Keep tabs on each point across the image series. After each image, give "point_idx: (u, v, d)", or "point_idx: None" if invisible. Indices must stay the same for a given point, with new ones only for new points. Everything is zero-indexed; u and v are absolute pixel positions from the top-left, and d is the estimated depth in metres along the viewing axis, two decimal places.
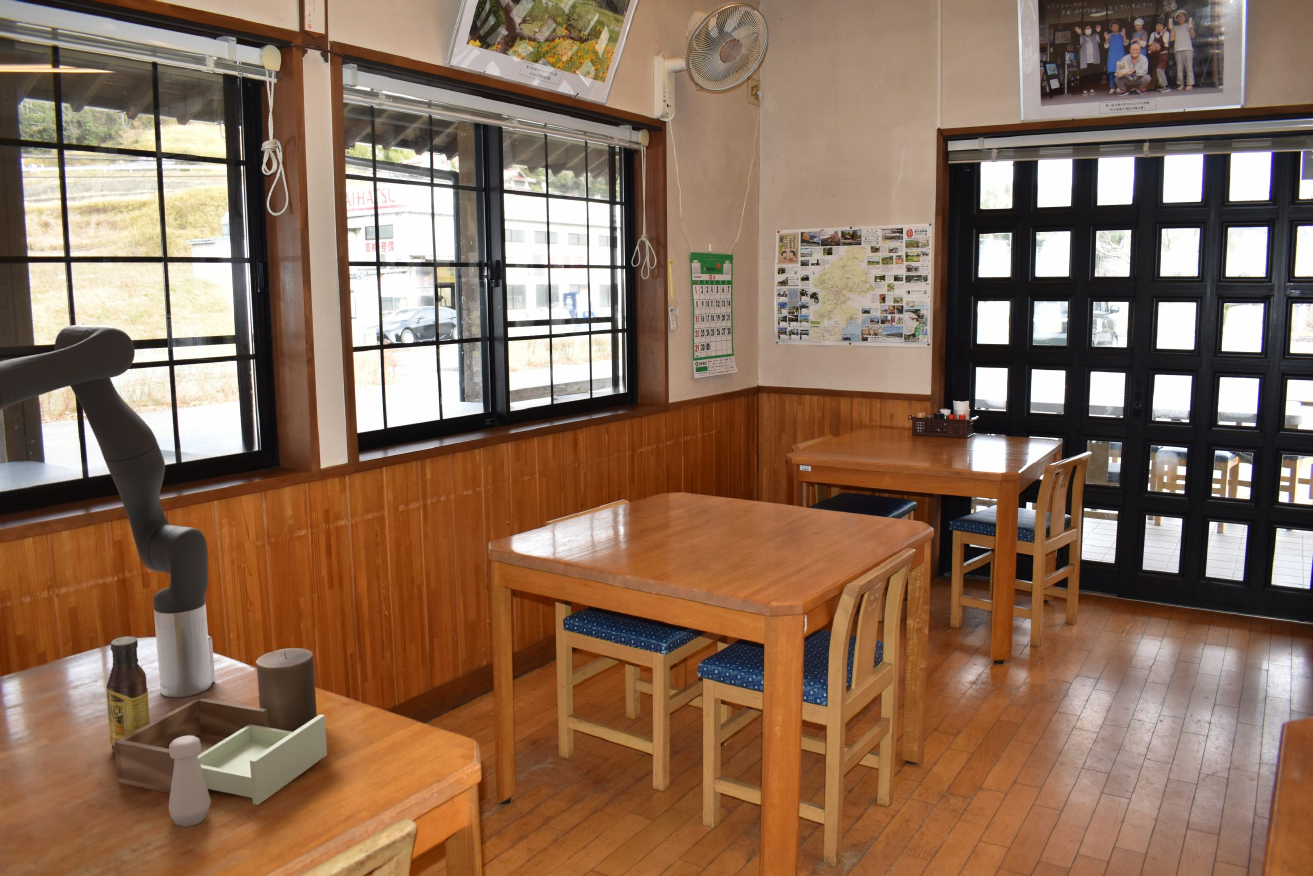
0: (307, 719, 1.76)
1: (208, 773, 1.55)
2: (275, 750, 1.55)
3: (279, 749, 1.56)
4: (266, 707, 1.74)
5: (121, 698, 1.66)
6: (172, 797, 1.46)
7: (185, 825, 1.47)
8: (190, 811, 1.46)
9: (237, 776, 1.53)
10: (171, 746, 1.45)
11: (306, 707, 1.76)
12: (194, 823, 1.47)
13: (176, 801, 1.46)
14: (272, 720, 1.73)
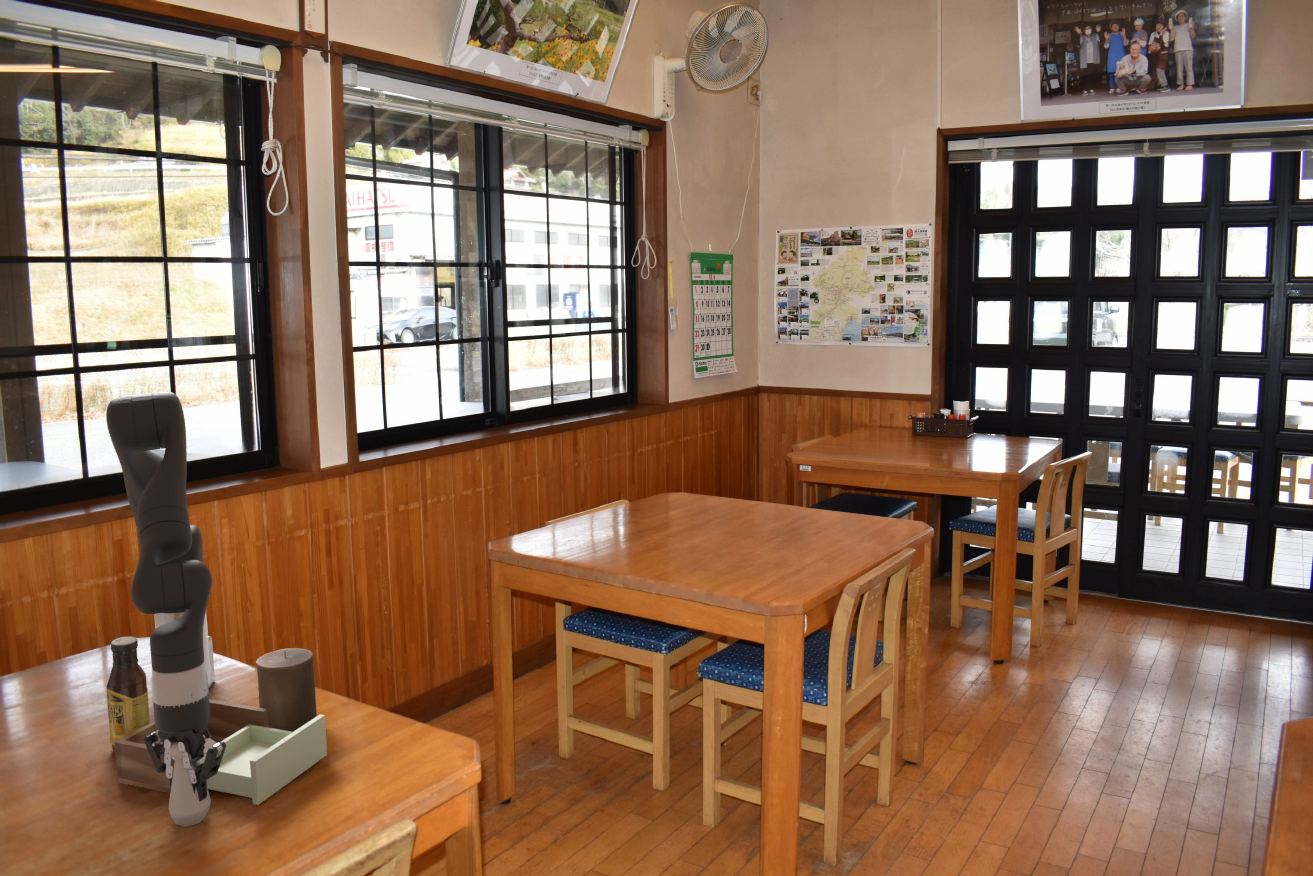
0: (307, 719, 1.76)
1: None
2: (275, 750, 1.55)
3: (279, 749, 1.56)
4: (266, 707, 1.74)
5: (121, 698, 1.66)
6: (172, 797, 1.46)
7: (185, 825, 1.47)
8: (190, 811, 1.46)
9: (237, 776, 1.53)
10: (171, 746, 1.45)
11: (306, 707, 1.76)
12: (194, 823, 1.47)
13: (176, 801, 1.46)
14: (272, 720, 1.73)
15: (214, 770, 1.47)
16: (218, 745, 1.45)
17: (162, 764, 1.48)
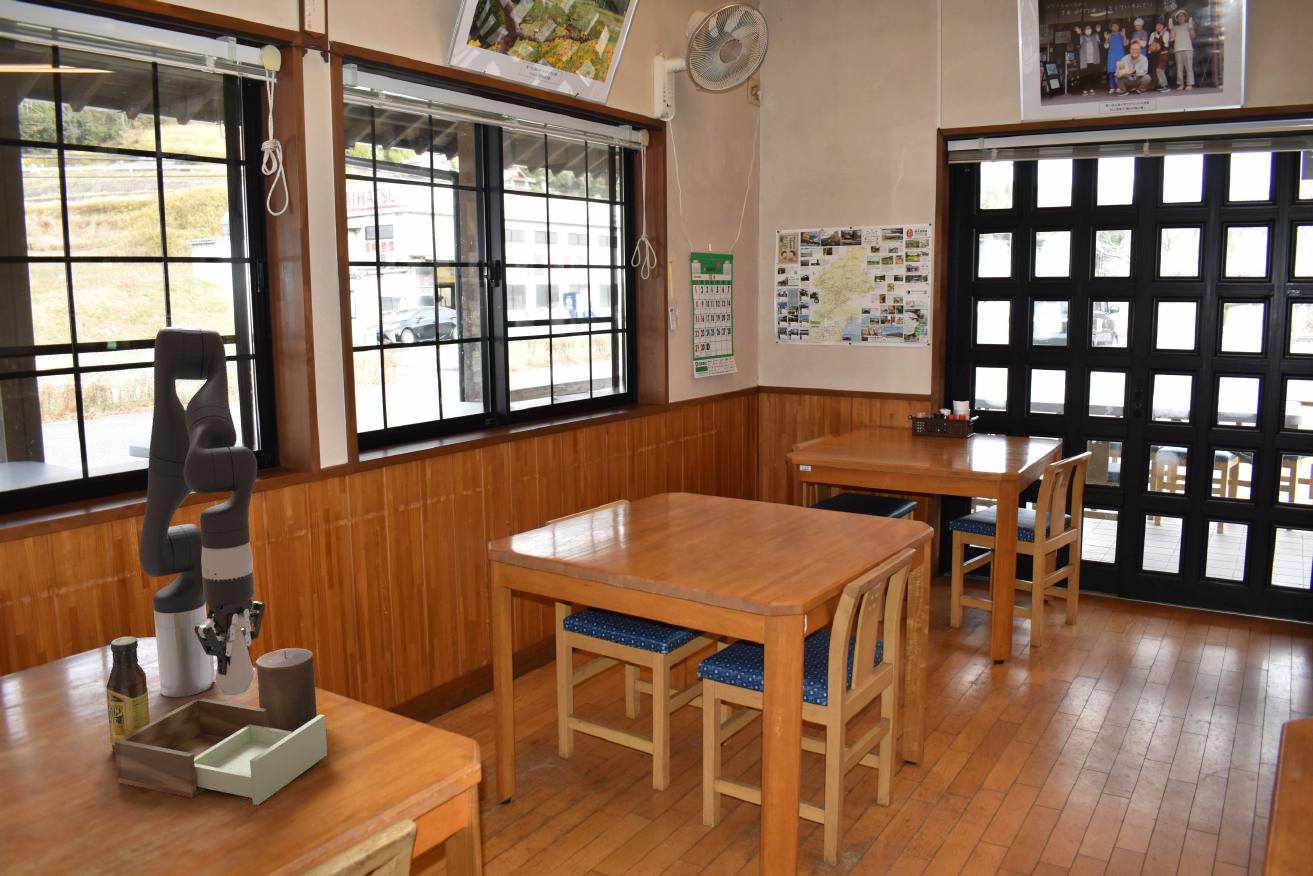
0: (307, 719, 1.76)
1: (208, 773, 1.55)
2: (275, 750, 1.55)
3: (279, 749, 1.56)
4: (266, 707, 1.74)
5: (121, 698, 1.66)
6: None
7: None
8: None
9: (237, 776, 1.53)
10: None
11: (306, 707, 1.76)
12: (222, 691, 1.59)
13: None
14: (272, 720, 1.73)
15: None
16: (202, 627, 1.52)
17: None
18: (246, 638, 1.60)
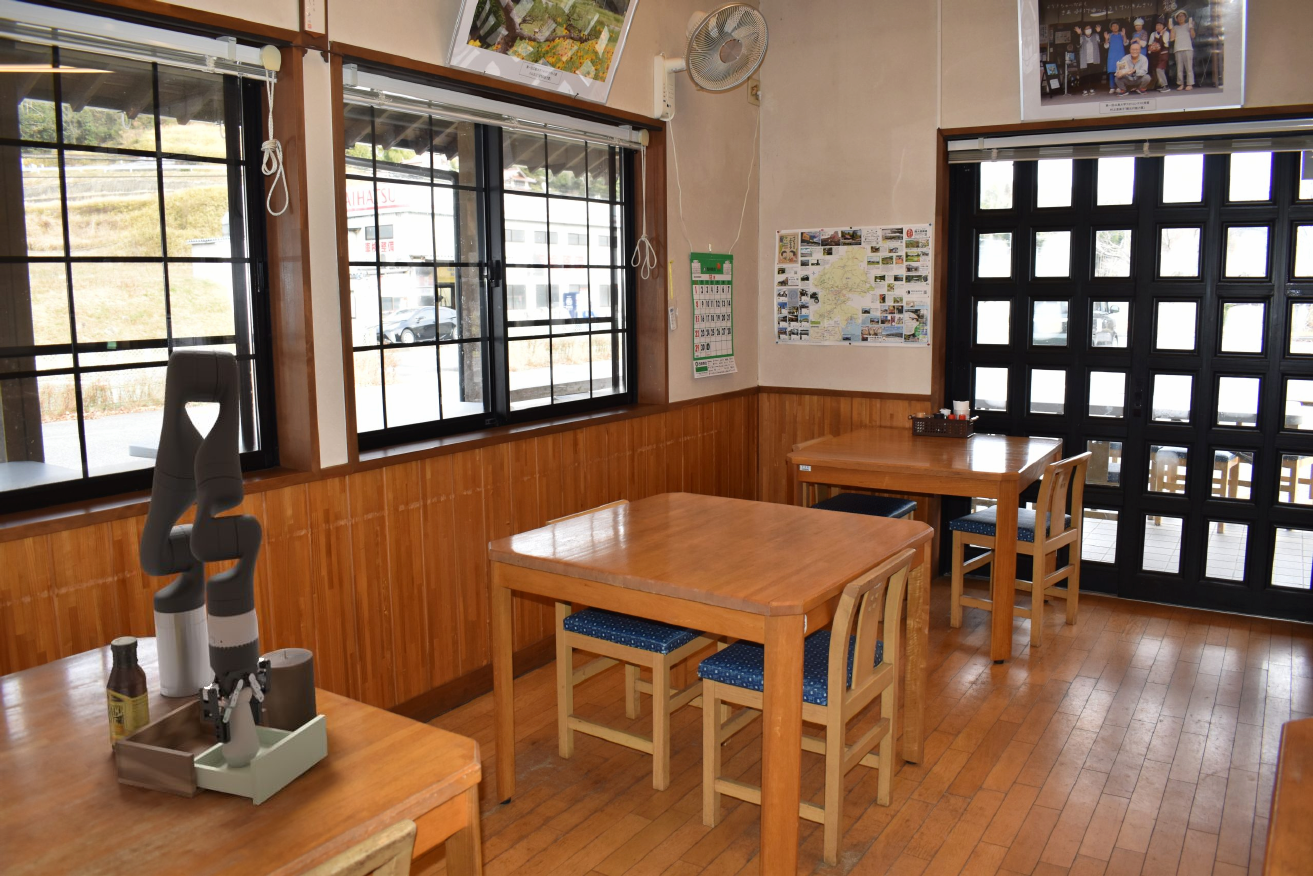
0: (307, 719, 1.76)
1: (208, 773, 1.55)
2: (275, 750, 1.55)
3: (279, 749, 1.55)
4: (266, 707, 1.74)
5: (121, 698, 1.66)
6: None
7: None
8: (222, 749, 1.61)
9: (237, 776, 1.53)
10: None
11: (306, 707, 1.76)
12: (229, 763, 1.61)
13: None
14: (272, 720, 1.73)
15: (213, 718, 1.55)
16: (207, 688, 1.54)
17: None
18: (258, 696, 1.63)
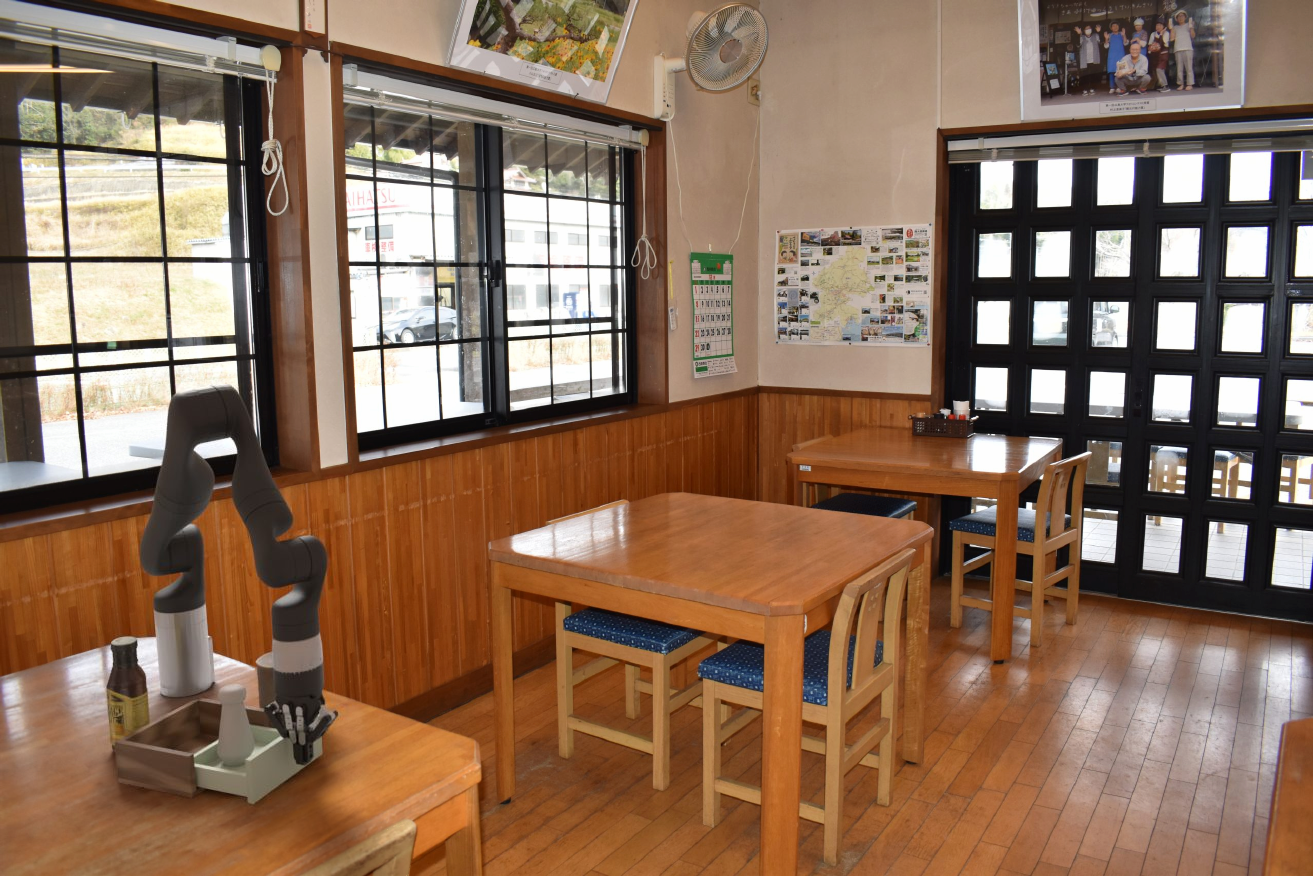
0: None
1: (203, 772, 1.55)
2: (270, 749, 1.55)
3: (274, 748, 1.56)
4: None
5: (121, 698, 1.66)
6: None
7: None
8: (217, 748, 1.61)
9: (232, 775, 1.54)
10: (226, 686, 1.62)
11: None
12: (224, 763, 1.61)
13: None
14: None
15: (320, 732, 1.57)
16: (332, 714, 1.55)
17: (286, 730, 1.57)
18: None
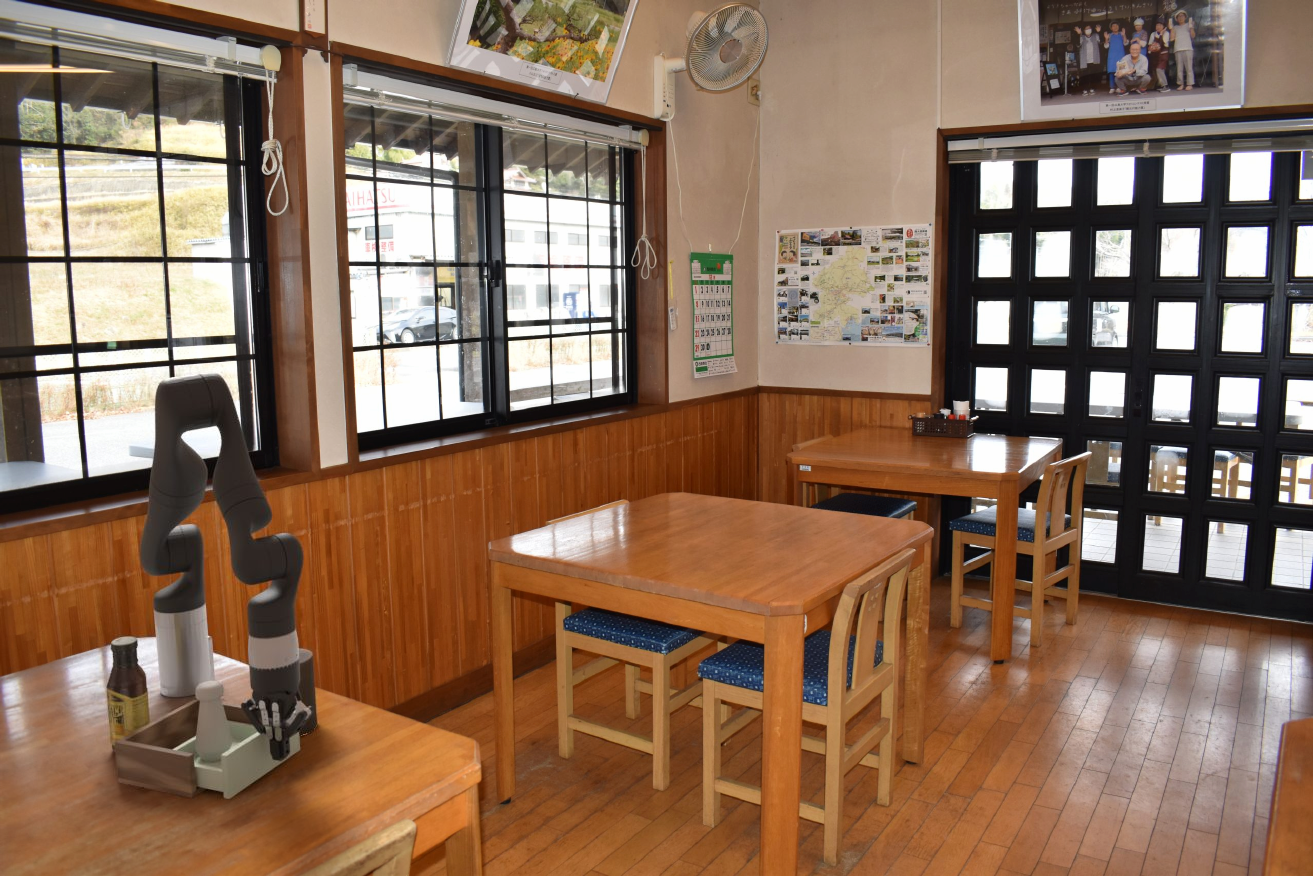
0: None
1: None
2: (246, 744, 1.56)
3: (251, 744, 1.57)
4: None
5: (121, 698, 1.66)
6: None
7: None
8: None
9: (208, 771, 1.55)
10: None
11: None
12: None
13: None
14: None
15: None
16: (308, 710, 1.57)
17: (263, 726, 1.59)
18: None
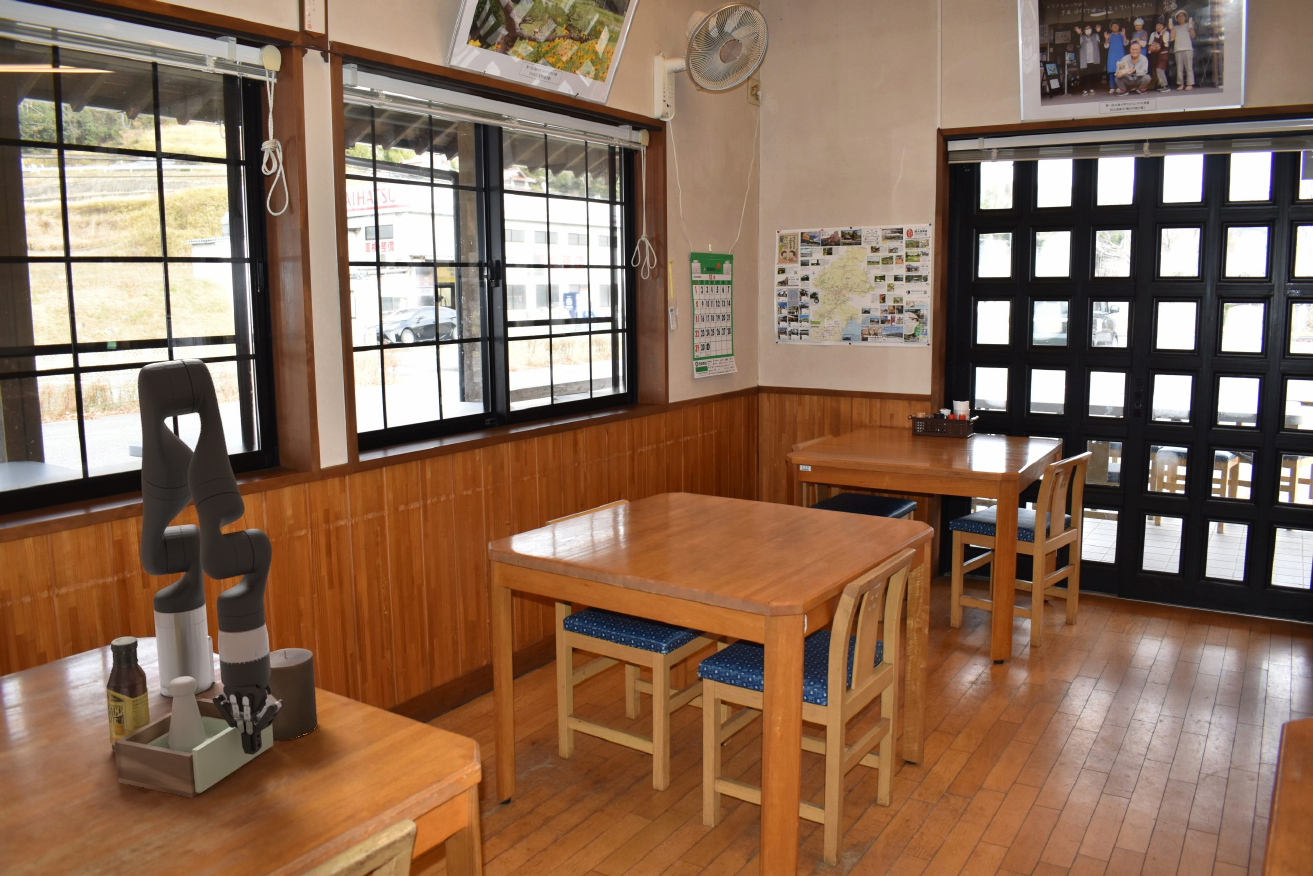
0: (307, 719, 1.76)
1: None
2: (218, 739, 1.58)
3: (222, 739, 1.59)
4: None
5: (121, 698, 1.66)
6: None
7: None
8: (168, 739, 1.64)
9: None
10: (177, 678, 1.65)
11: (306, 707, 1.76)
12: None
13: None
14: None
15: (268, 721, 1.60)
16: (278, 703, 1.58)
17: (234, 720, 1.61)
18: None
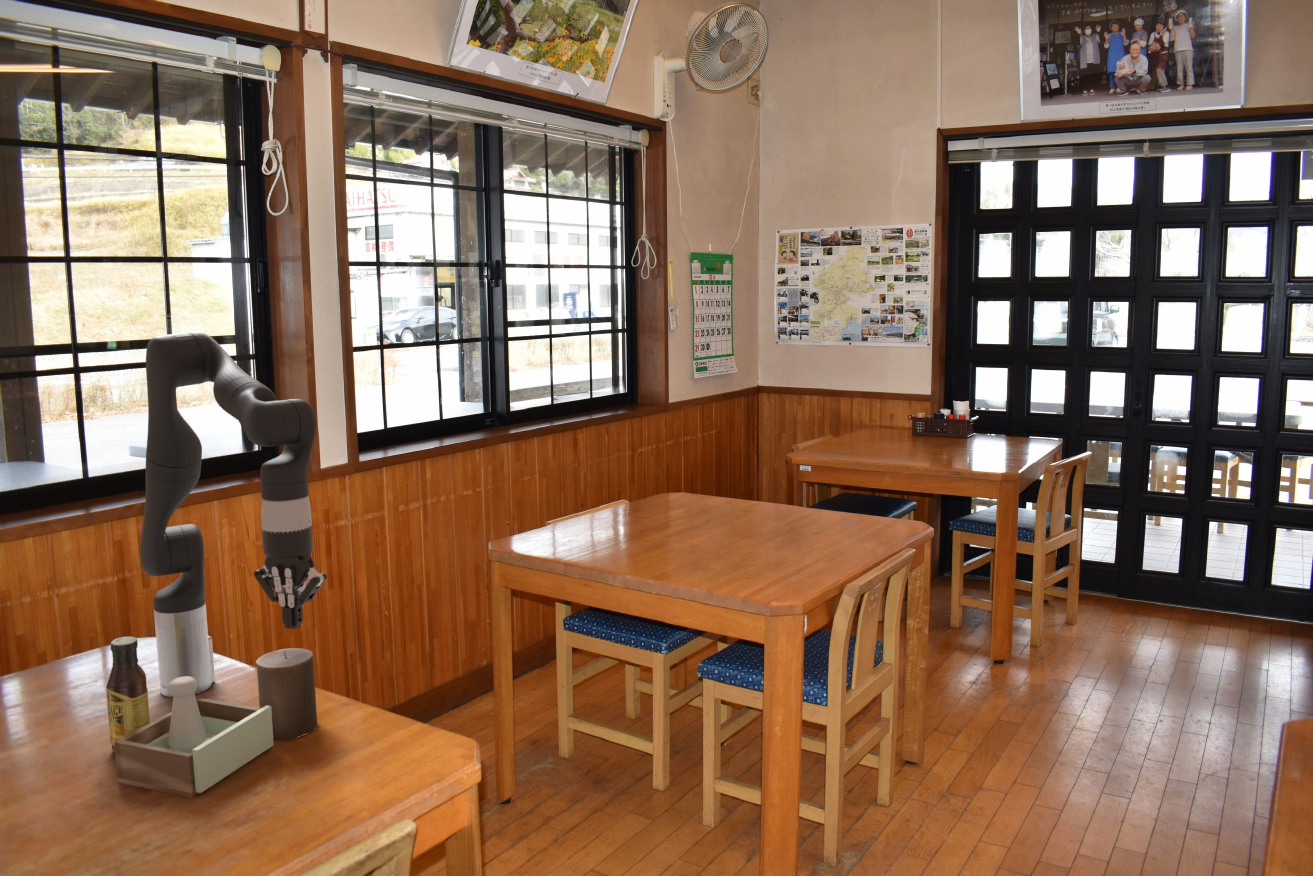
0: (307, 719, 1.76)
1: None
2: (218, 739, 1.58)
3: (223, 739, 1.59)
4: None
5: (121, 698, 1.66)
6: None
7: None
8: (168, 739, 1.64)
9: None
10: None
11: (306, 707, 1.76)
12: None
13: None
14: (272, 720, 1.73)
15: (309, 596, 1.59)
16: (321, 576, 1.56)
17: (275, 593, 1.59)
18: None
